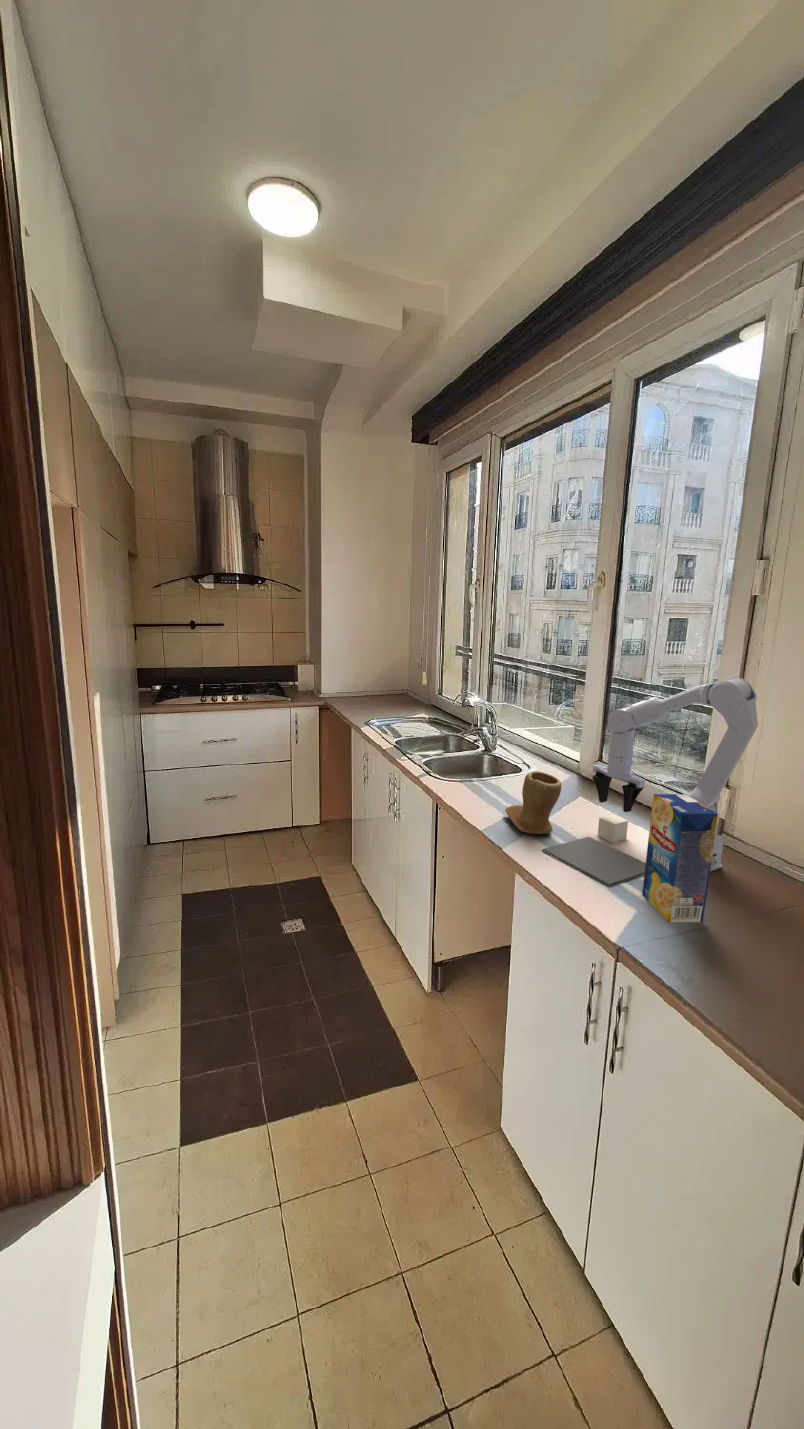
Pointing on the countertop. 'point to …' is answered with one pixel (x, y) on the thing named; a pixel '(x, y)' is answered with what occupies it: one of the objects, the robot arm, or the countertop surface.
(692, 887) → the beverage box
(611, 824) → the cream cube
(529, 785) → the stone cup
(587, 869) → the charcoal mat
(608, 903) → the countertop surface
